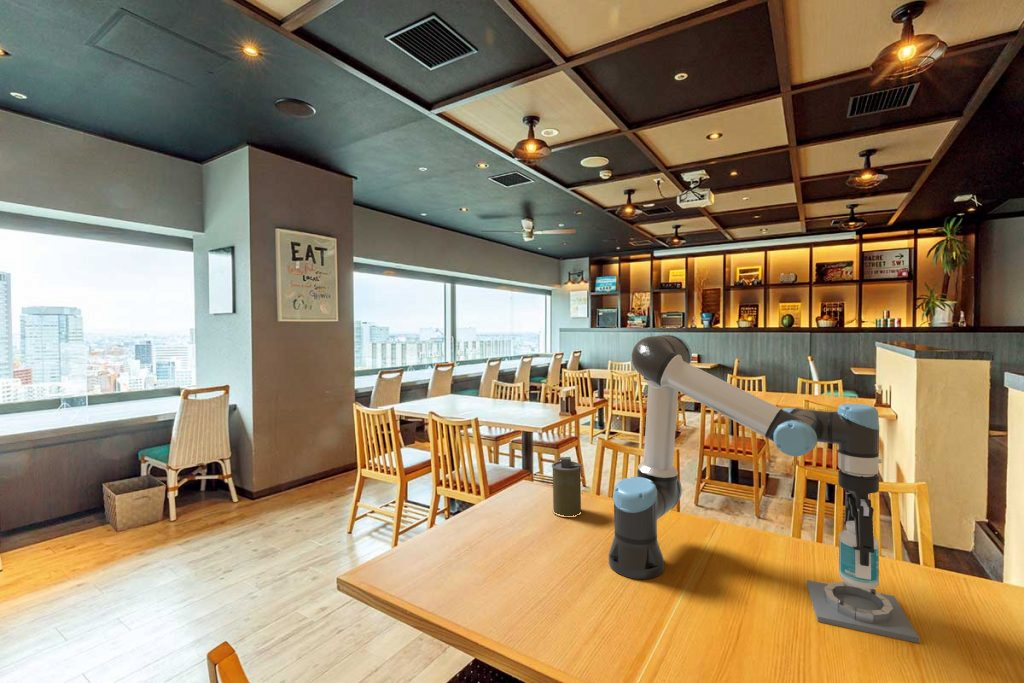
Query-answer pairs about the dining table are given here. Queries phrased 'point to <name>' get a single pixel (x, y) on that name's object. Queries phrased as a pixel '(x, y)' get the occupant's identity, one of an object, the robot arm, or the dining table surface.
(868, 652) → the dining table surface
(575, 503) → the canister
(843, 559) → the pill bottle
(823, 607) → the board
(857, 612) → the collar
